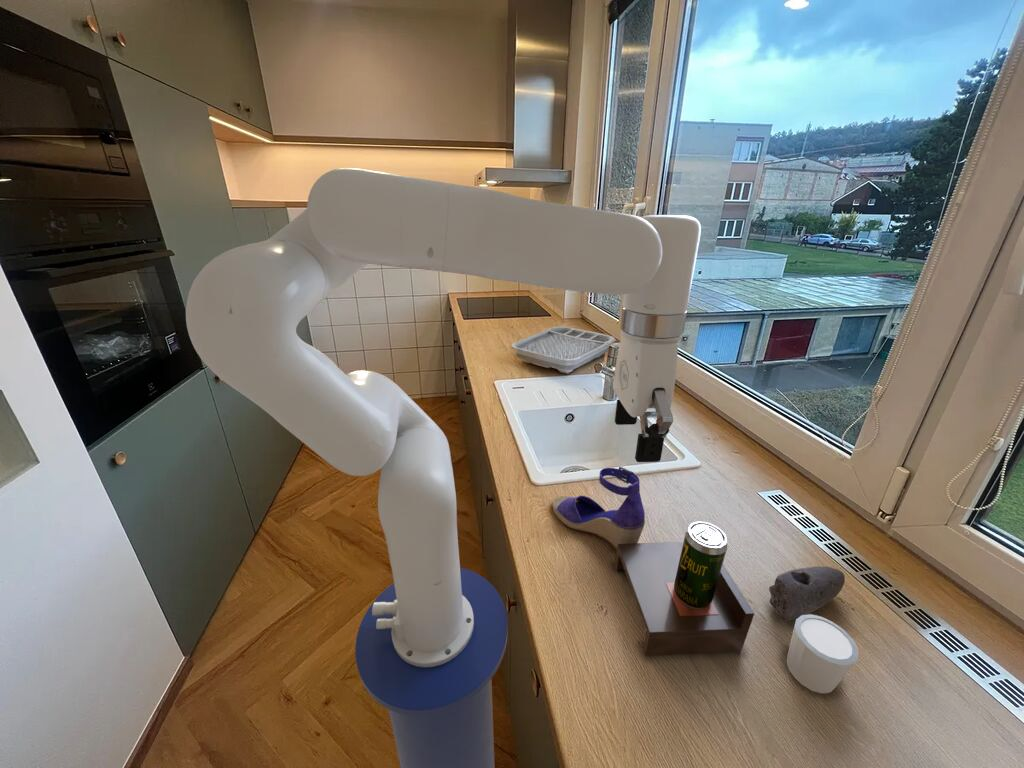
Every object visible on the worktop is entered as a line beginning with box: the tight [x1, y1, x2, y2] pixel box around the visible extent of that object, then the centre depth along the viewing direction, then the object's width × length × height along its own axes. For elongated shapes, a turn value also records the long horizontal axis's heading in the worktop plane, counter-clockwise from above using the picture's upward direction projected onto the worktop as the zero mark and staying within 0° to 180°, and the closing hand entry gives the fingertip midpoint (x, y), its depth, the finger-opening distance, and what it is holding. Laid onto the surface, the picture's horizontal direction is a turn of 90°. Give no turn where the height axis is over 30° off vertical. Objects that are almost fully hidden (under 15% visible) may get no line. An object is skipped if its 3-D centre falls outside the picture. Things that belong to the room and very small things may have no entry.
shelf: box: [614, 541, 755, 657], centre depth 64 cm, size 14×16×8 cm
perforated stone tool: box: [768, 565, 846, 622], centre depth 64 cm, size 15×5×7 cm, turn 108°
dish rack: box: [510, 326, 617, 374], centre depth 167 cm, size 32×37×8 cm
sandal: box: [552, 466, 646, 551], centre depth 78 cm, size 8×20×15 cm, turn 33°
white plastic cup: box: [786, 613, 859, 695], centre depth 55 cm, size 7×7×7 cm
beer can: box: [674, 521, 728, 610], centre depth 59 cm, size 5×5×12 cm
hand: (635, 440), depth 58 cm, fingers open, 9 cm apart
